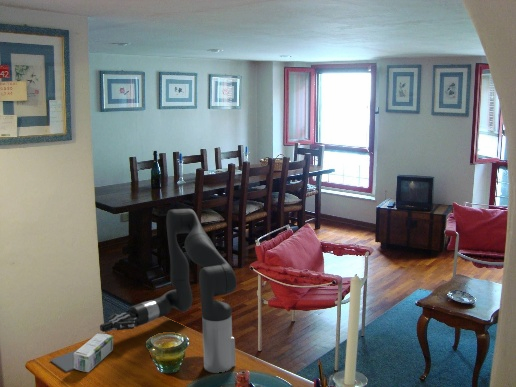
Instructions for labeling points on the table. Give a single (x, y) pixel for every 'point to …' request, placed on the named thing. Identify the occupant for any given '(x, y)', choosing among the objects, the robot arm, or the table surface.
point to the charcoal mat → (65, 361)
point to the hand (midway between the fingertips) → (101, 328)
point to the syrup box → (93, 352)
